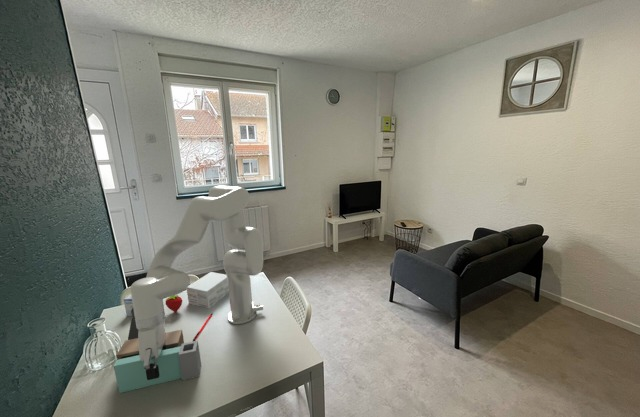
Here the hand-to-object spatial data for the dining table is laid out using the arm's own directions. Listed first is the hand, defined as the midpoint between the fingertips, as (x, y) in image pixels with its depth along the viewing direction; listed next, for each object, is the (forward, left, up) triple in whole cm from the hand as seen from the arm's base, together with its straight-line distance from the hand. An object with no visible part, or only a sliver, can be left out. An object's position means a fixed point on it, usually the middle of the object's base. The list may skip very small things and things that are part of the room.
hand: (157, 366), depth 82 cm
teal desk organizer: (0, -1, -6) cm, 7 cm away
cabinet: (+2, -7, -6) cm, 9 cm away
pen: (-10, -25, -7) cm, 28 cm away
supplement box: (-10, -50, -7) cm, 52 cm away
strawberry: (+4, -41, -7) cm, 42 cm away
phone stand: (+13, -28, -7) cm, 32 cm away
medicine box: (+22, -48, -7) cm, 54 cm away
